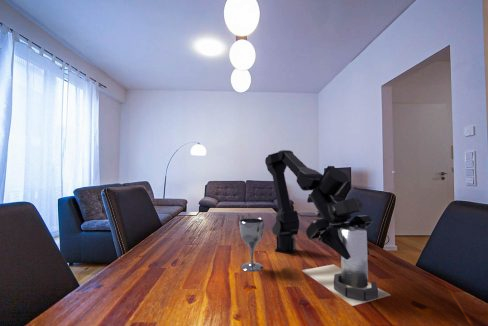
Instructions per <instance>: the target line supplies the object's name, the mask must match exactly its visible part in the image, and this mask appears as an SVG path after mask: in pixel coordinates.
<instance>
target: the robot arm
mask: <svg viewBox="0 0 488 326" xmlns="http://www.w3.org/2000/svg"><path fill="white" fill-rule="evenodd" d="M264 161H265V162H264V163H265V165H266V168H267V171H268V172H269V174H271V176H272V181H273V186H274V190H275V191H274V192H275V196H276V202H277V209H278V211H277V213H276V216H275V219H276V221H275V223H274V225H273V227H272V229H271V230H272V234H273V235H275V236H276V239H275V240H276V248H274V251H275V252H280V253H285V254H292V253H294V251H296V249H297V247H296V244H297V243H296V240H297V239H296V238H295V236H296V235H298V234H299V228H300V219H299V214H298V212H297V210H294V209H293V208H292V206H291V200H290V195H289V190H288V185H287V182H286V177H285V172H286V169H287V167H288V169H289V170H290V171H291V172H292V173H293V174H294V176H295V177H296V183H297V185H298V186H299V188H300V190H302V191H304V192H305V191H307V192H309V191H311V192H310V193H309V194H308V196H307V197H308V198H307V199H306V200H307V201H306V202H307V203H308V204H309V203H313V205H314V207H315V208H316V209H317V211H318V213H317V214H316V215H317V218H320V219H313V220H312V221H311V223H310V224H309V225H308V227H307V228H306V231H305V233H306V236H307V238H308V240H309V241H312V240H314V241H315V240H318V242H322V243H323V244H324V245H326V246H328V247H330V248H331V249H332V250H333V251H334V252H336V254H338V255H340V257H341V256H342V257H344V258H345V259H346V260H348V259H349V258H350V256H349V254H348V252H347V250H346V248H345V247H344V245H343V243H342V241H341V239H340V238H339V236H338V230H340V228H341V227H347V226H349V227H359V228H363V229H365V230H367V229H368V228H369V227H370V226H371V225H372V224H373V223H374V221H373V219H372V218H371V217H370V216H369V215H366V214H359V215H355V216H354V217H353V216H352V214H354V213H355V214H356V213H360V212H361V209H363V203H362V201H361V200H360V199H359V198H358V197H351V198H349V199H344V200H339V201H337V200H335V198H334V196H338V194H339V193H340V192H341V191H342V189H344V186H346V184H347V183H348V181H349V176H348V175H347V173H346V172H344V171H342V170H341V169H338V168H337V167H335V165H328V166H327V167H326V168H325V171H324V172H323V174H322V173H321V172H319V171H317V170H316V169H313V168H310V167H308V166H307V165H306V164H305V163H304V162H302V161H301V160H300V159H299V158H298V157H297V156H296V155H295V154H294V152H293V151H292V150H287V149H282V150H279V151H278V152H274V153H270V154H268V155H267V156H266V157H265V159H264ZM352 217H353V218H352ZM351 218H352V219H351ZM349 219H351V220H350V221H349ZM369 255H370V251H369V247H368V246H367V257H368V256H369Z"/></svg>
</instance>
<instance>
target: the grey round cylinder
mask: <svg viewBox="0 0 488 326" xmlns="http://www.w3.org/2000/svg"><path fill="white" fill-rule="evenodd" d="M367 232H368V231H367V229H363V228H359V227H349V226H347V227H341V228H340V237H341V241H342V243H343V245H344V247H345V248H346V250H347V252H348V254H349V256H350V258H349V259H348V260H346V259H345V258H344V257H342V256H341V255H340V268H341V280H342V282H343V283H345V284H347V285H349V286H352V287H356V288H364V287H367V286H368V283H369V273H368V272H369V267H368V266H369V263H368V256H367V247H368V236H367Z"/></svg>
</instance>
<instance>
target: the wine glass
mask: <svg viewBox="0 0 488 326" xmlns="http://www.w3.org/2000/svg"><path fill="white" fill-rule="evenodd" d="M264 222H265V219H264V218H261V217H244V218H241V219H239V232H240V236H241V237H240V238H241V239H242V240H243V242H244V243H245V244H246V245H247V246H248V248H249V253H250V262H245V263H242V265H240V268H241V270H243V271H245V272H251V273H255V272H256V273H257V272H259V271H262V270H263V269H264V265H263V264H262V263H259V262H255V261H254V253H255V248H256V247H257V245H258V244H259V242H260V241H261V240H262V239H263V235H264V227H265V223H264Z"/></svg>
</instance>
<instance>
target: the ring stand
mask: <svg viewBox="0 0 488 326" xmlns="http://www.w3.org/2000/svg"><path fill="white" fill-rule="evenodd" d="M301 272H303V273H304V274H305V275H307V276H308V277H310V278H312V279H313V280H315V281H316V282H317V283H319V284H320V285H322V286H323V287H325V288H326V289H328V290H329V291H330V292H332V293H333V294H334V295H336V296H337V297H339V298H340V299H342V300H343V301H345V302H346V303H347V304H349V305H350V306H352V307H354V306H358V305H361V304H365V303H369V302H372V301H375V300H378V299H379V300H380V299H382V298H386V297H390V296H391V294H390V293H389V292H387V291H384V289H381V288H378V284H377V282H376V281H370V282H368V286H367V287H364V288H356V287H352V286H349V285H347V284H345V283H343V282H342V280H341V267H339V266H337V265H335V264H334V263H333V264H329V265H328V264H327V265H323V266H319V267H318V266H317V267H313V268H306V269H302V270H301Z"/></svg>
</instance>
